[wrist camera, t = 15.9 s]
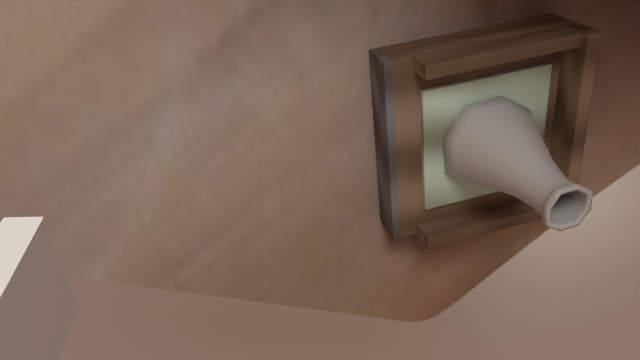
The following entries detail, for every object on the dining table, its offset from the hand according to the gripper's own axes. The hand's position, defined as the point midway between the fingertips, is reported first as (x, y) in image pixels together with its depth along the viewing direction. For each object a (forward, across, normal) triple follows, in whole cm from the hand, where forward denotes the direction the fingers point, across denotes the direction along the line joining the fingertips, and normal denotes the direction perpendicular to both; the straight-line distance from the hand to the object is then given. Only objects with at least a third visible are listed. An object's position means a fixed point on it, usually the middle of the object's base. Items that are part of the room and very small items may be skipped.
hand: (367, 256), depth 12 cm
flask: (+26, +13, -14) cm, 32 cm away
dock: (+29, +12, -14) cm, 35 cm away
